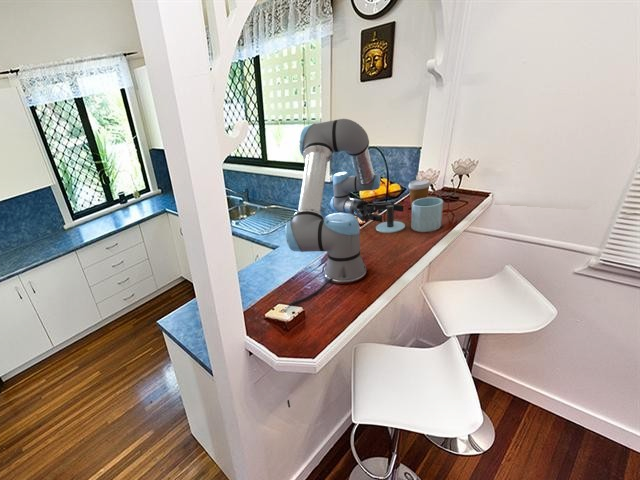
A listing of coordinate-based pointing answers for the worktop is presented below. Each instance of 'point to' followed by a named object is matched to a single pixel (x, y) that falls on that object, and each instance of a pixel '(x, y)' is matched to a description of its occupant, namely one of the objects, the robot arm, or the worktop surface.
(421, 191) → the disposable coffee cup
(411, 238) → the worktop surface
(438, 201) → the light blue pot
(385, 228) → the lid
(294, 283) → the worktop surface
